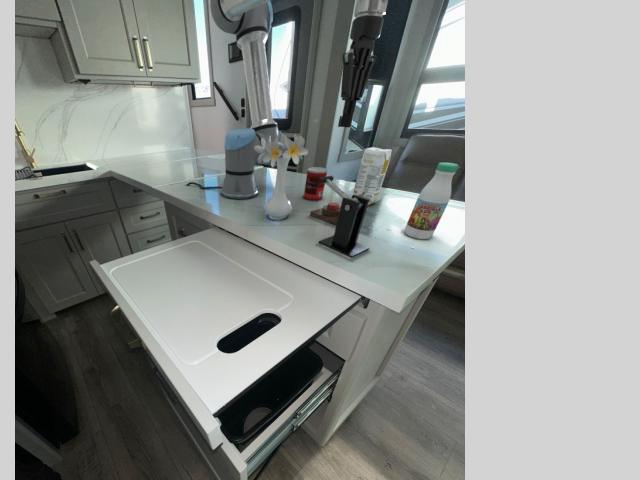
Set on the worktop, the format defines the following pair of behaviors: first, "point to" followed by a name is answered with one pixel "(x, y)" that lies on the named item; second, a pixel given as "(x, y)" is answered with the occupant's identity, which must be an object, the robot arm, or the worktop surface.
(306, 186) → the canned food
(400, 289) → the worktop surface
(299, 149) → the flower vase
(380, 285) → the worktop surface
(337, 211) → the control block
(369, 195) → the juice carton
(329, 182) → the lever
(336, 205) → the button
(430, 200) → the milk bottle
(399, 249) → the worktop surface
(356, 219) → the bracket
